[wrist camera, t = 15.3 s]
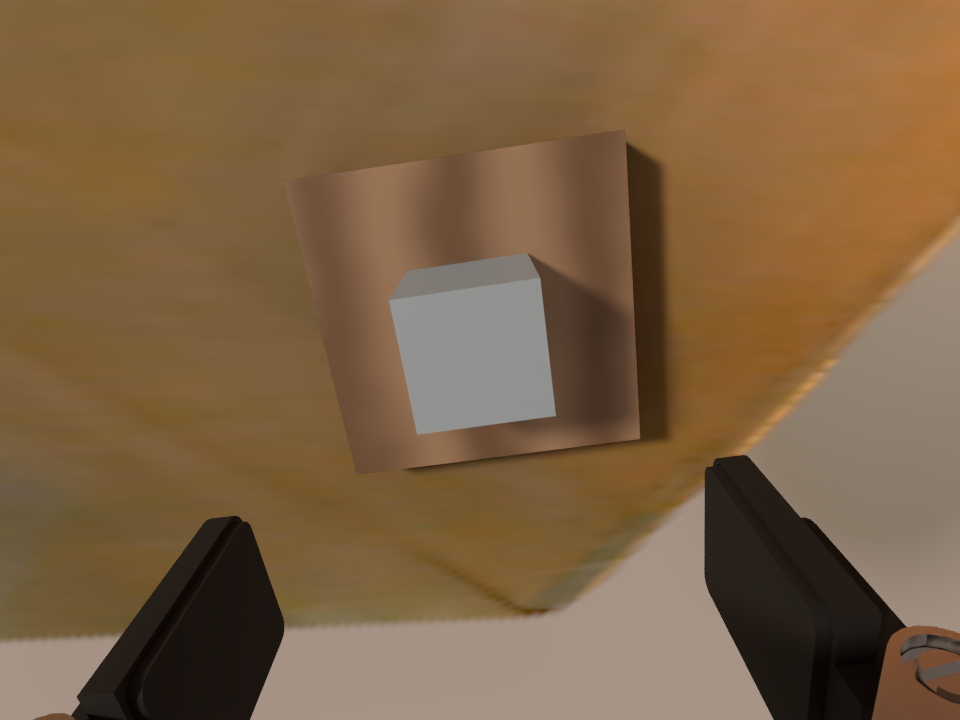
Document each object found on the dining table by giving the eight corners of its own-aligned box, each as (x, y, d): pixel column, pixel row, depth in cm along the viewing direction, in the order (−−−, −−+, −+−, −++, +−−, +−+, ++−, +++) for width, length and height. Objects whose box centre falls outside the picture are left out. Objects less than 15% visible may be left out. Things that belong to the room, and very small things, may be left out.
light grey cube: (527, 252, 27) (540, 278, 22) (540, 366, 29) (555, 415, 24) (407, 271, 28) (388, 300, 22) (428, 381, 30) (417, 434, 24)
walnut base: (610, 132, 28) (625, 129, 25) (626, 415, 34) (640, 438, 31) (302, 178, 29) (283, 181, 26) (366, 448, 34) (356, 474, 32)
